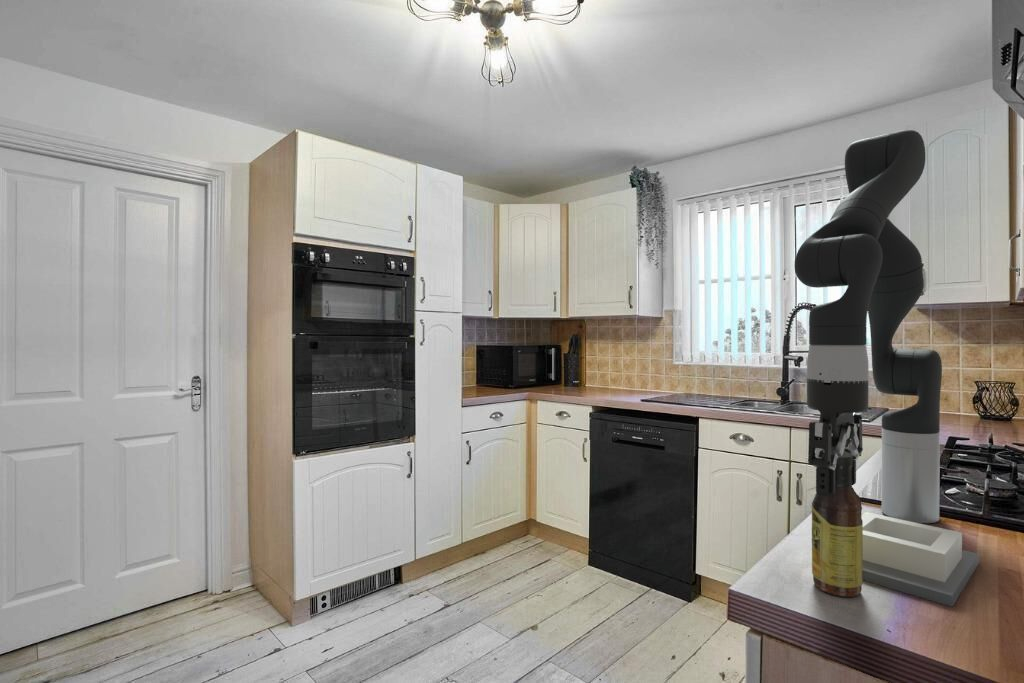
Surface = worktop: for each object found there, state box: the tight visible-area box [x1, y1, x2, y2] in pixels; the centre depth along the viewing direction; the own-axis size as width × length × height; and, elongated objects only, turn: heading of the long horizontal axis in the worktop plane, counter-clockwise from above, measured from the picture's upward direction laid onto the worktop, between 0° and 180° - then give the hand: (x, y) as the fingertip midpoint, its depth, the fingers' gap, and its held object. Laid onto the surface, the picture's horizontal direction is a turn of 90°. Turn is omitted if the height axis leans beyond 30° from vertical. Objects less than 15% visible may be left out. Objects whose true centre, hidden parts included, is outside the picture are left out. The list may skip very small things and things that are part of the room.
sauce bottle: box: [811, 451, 863, 598], centre depth 77 cm, size 7×6×20 cm
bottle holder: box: [861, 511, 980, 607], centre depth 84 cm, size 20×16×6 cm
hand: (836, 489), depth 76 cm, fingers open, 8 cm apart
